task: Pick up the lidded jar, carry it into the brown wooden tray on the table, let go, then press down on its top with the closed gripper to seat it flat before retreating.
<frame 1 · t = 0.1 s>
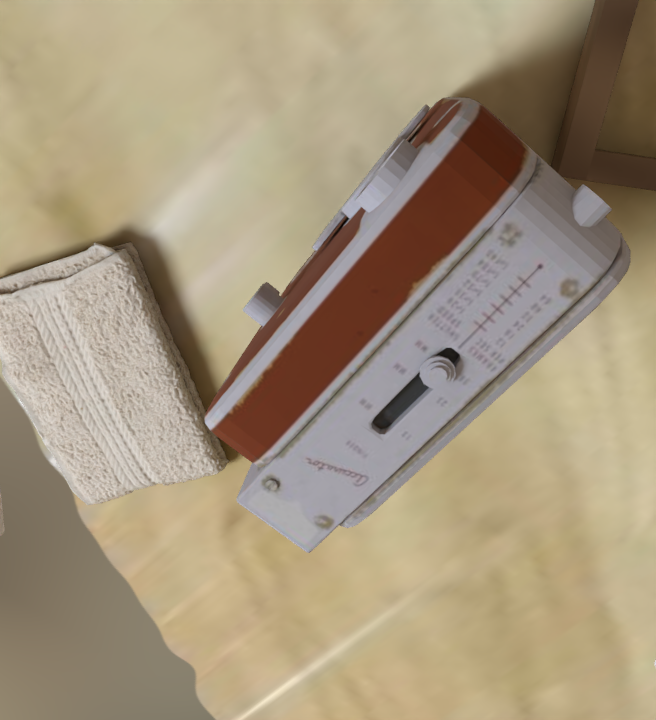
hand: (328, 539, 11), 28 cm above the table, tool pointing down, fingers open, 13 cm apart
cine camera: (376, 262, 38), on the table
washcloth: (116, 372, 44), on the table
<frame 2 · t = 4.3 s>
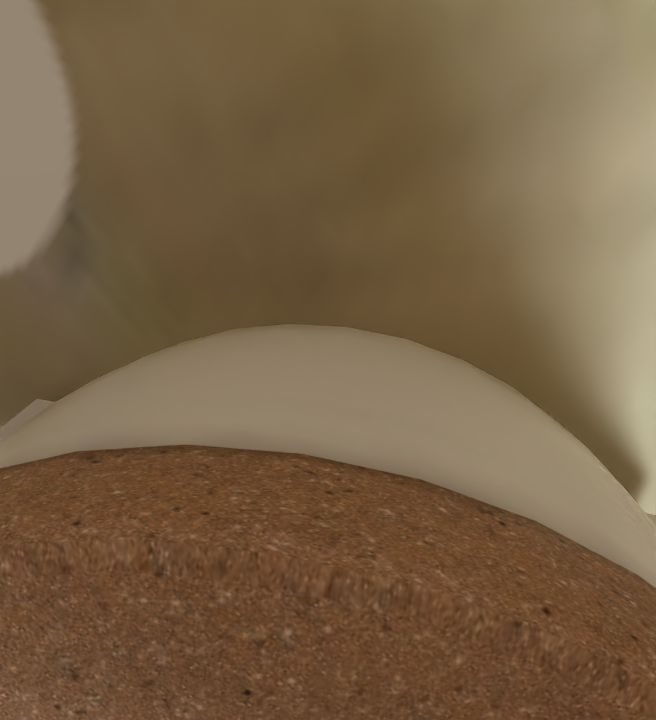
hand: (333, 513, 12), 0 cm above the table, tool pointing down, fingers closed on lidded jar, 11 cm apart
lidded jar: (338, 493, 13), on the table, touching gripper
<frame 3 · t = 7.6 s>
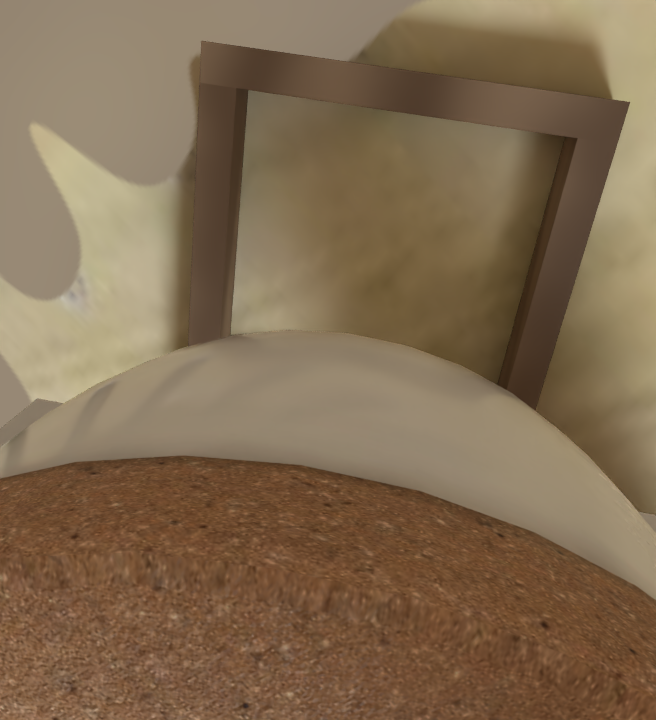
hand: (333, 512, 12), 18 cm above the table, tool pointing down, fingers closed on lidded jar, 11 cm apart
brown wooden tray: (378, 266, 29), on the table
lidded jar: (337, 497, 13), point 18 cm above the table, touching gripper
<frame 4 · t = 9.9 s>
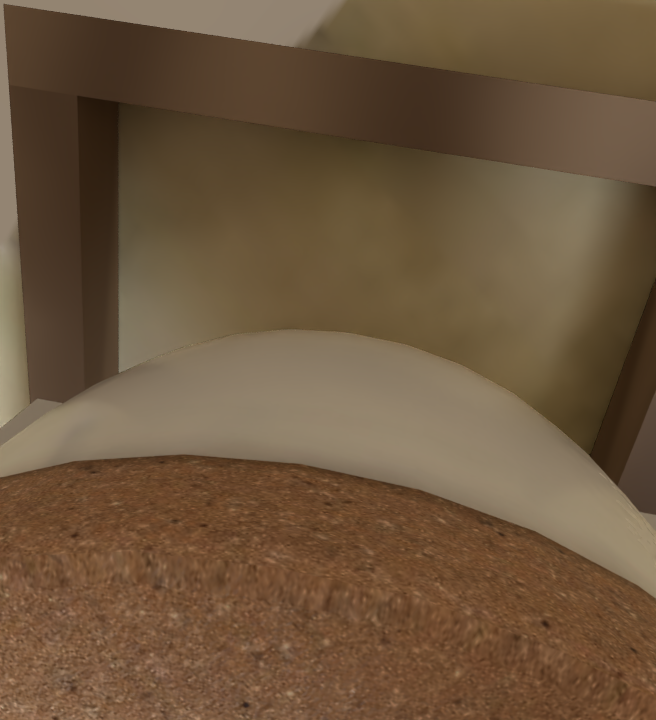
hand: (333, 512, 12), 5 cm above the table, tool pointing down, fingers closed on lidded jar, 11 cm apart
brown wooden tray: (352, 394, 17), on the table
lidded jar: (338, 496, 13), point 5 cm above the table, touching gripper
when the fingers open (3 cm above the table, at t = 11.4 s): lidded jar drops 3 cm, resting in brown wooden tray.
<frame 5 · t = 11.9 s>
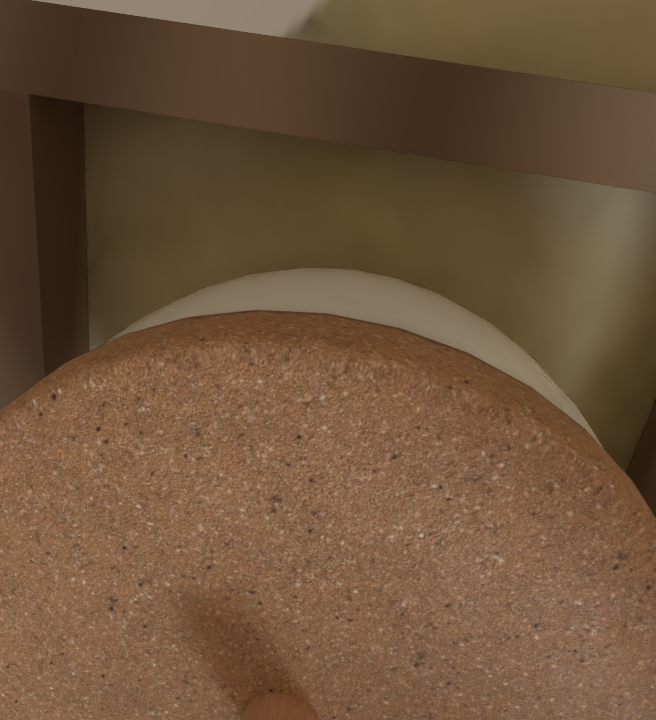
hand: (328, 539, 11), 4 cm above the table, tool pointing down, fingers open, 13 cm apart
brown wooden tray: (349, 427, 15), on the table
lidded jar: (342, 425, 16), resting in brown wooden tray
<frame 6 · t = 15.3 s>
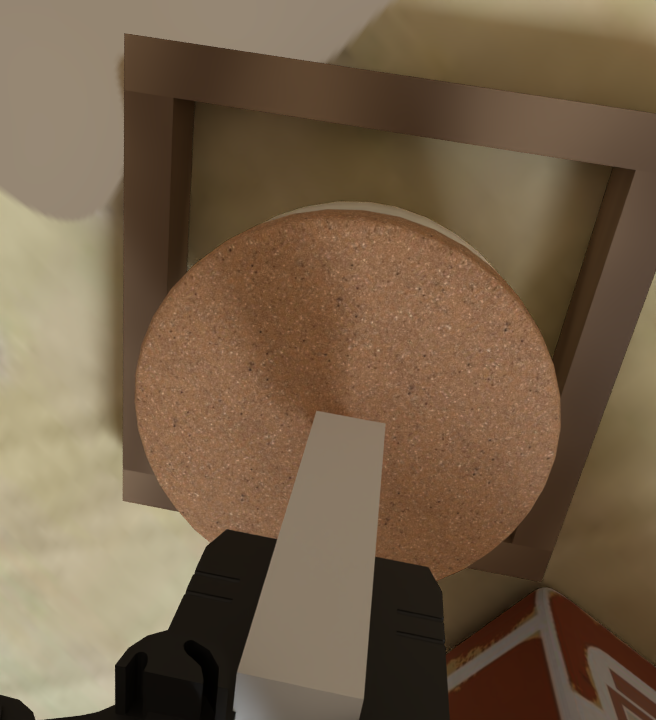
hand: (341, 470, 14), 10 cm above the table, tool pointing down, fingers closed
cine camera: (624, 718, 29), on the table
brown wooden tray: (366, 326, 22), on the table
lidded jar: (361, 325, 23), resting in brown wooden tray, touching gripper
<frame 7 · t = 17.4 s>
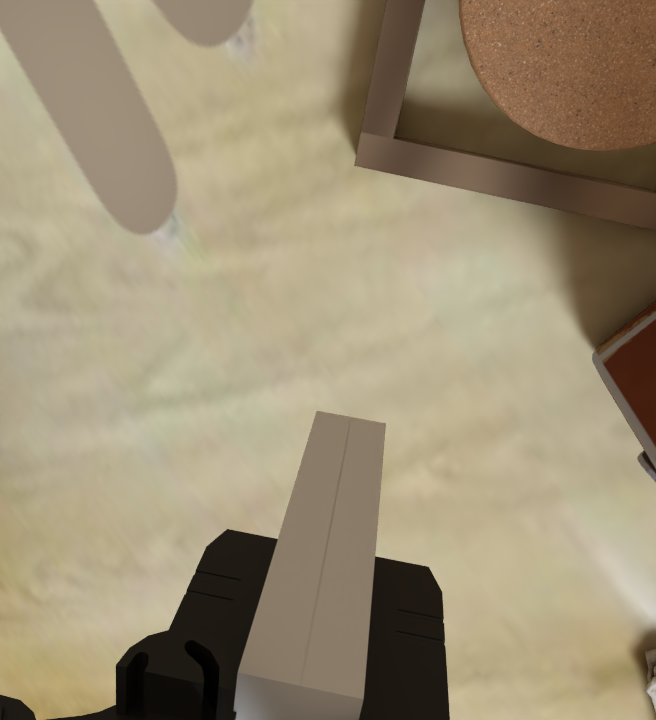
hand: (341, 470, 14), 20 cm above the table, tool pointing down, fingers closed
brown wooden tray: (583, 5, 27), on the table
lidded jar: (577, 7, 27), resting in brown wooden tray
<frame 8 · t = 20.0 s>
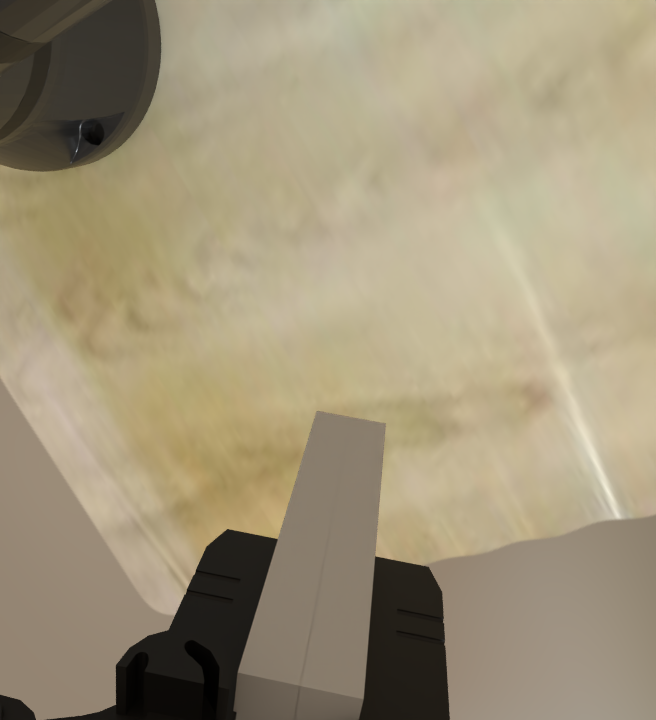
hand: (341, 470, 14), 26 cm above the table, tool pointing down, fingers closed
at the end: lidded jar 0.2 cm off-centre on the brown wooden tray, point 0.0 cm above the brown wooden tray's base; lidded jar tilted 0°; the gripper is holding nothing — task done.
